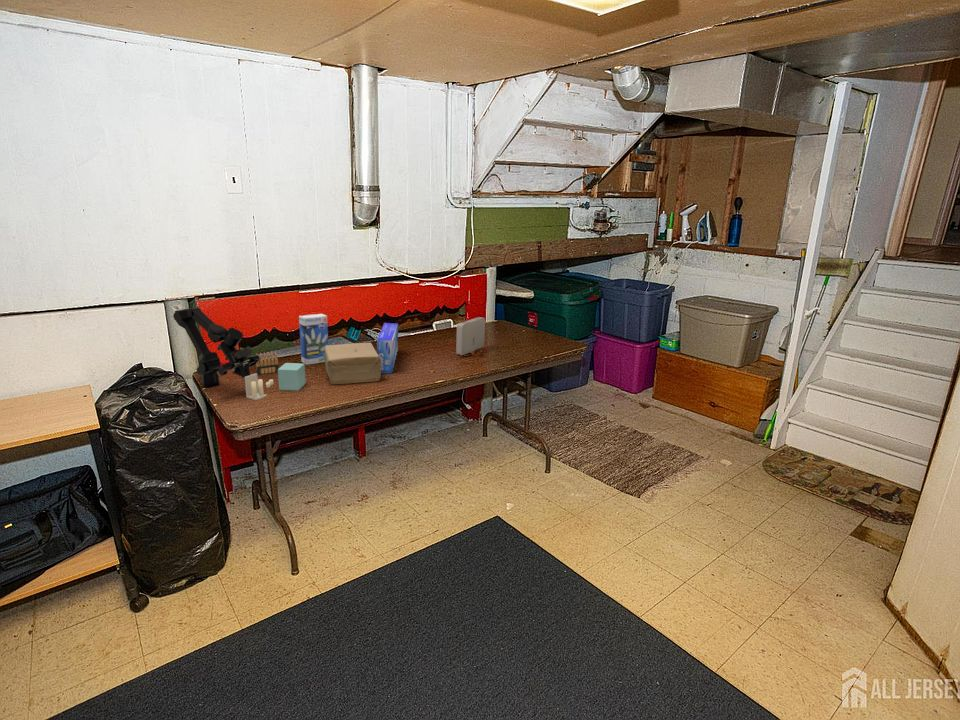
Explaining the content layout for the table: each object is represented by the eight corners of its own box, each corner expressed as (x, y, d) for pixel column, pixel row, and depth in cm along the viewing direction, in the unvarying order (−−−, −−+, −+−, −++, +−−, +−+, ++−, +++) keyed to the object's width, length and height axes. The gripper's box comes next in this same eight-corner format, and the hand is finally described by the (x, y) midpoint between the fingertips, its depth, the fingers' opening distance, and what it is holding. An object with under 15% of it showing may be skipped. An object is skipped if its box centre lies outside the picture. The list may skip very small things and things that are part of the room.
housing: (279, 389, 251) (277, 369, 248) (287, 382, 260) (285, 362, 257) (298, 390, 251) (297, 370, 248) (305, 383, 260) (304, 363, 257)
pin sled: (246, 398, 240) (244, 376, 237) (257, 394, 245) (255, 373, 242) (255, 400, 238) (253, 379, 235) (266, 396, 243) (265, 375, 240)
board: (257, 389, 253) (256, 383, 252) (263, 384, 259) (263, 378, 258) (282, 390, 252) (282, 384, 252) (288, 385, 259) (287, 379, 258)
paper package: (324, 369, 285) (323, 343, 281) (373, 366, 293) (373, 341, 289) (328, 386, 261) (326, 358, 256) (381, 382, 269) (381, 355, 265)
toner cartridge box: (392, 374, 281) (392, 340, 276) (376, 374, 281) (376, 339, 275) (398, 352, 318) (398, 322, 313) (384, 352, 318) (383, 322, 312)
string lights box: (306, 365, 289) (303, 318, 282) (300, 361, 295) (297, 315, 287) (329, 361, 298) (327, 315, 290) (323, 357, 303) (321, 312, 296)
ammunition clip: (278, 372, 276) (276, 350, 273) (279, 373, 275) (277, 351, 271) (256, 375, 271) (254, 352, 267) (257, 376, 269) (255, 353, 266)
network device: (464, 359, 311) (465, 325, 305) (452, 356, 315) (452, 323, 309) (487, 349, 332) (488, 318, 326) (475, 347, 336) (476, 315, 330)
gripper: (219, 346, 230) (239, 375, 229) (255, 337, 246) (274, 364, 244) (209, 361, 236) (229, 389, 234) (245, 351, 252) (264, 378, 250)
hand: (250, 379), depth 241 cm, fingers closed, pressing on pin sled
